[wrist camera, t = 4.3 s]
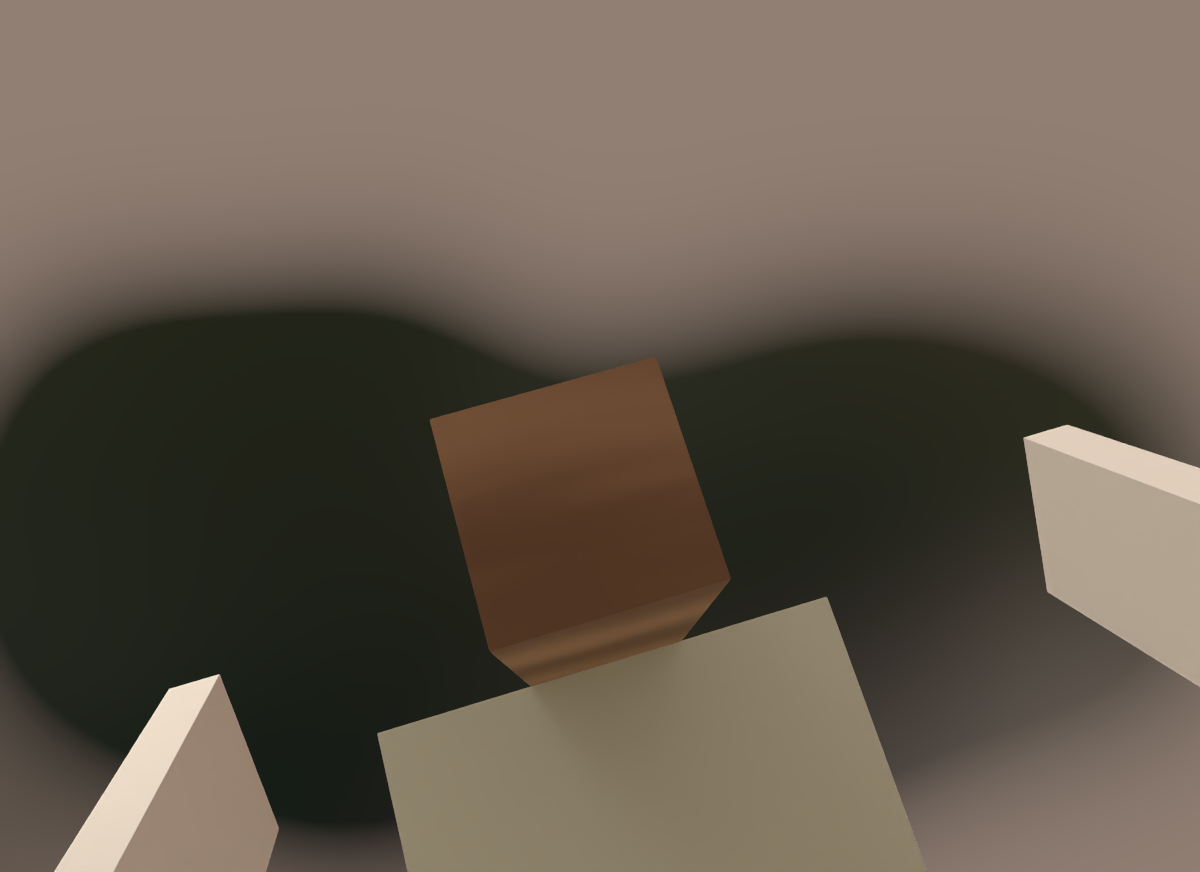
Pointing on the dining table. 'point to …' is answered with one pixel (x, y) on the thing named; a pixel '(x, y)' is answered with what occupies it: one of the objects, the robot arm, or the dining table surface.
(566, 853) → the beige tall block
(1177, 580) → the robot arm
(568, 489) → the beam
